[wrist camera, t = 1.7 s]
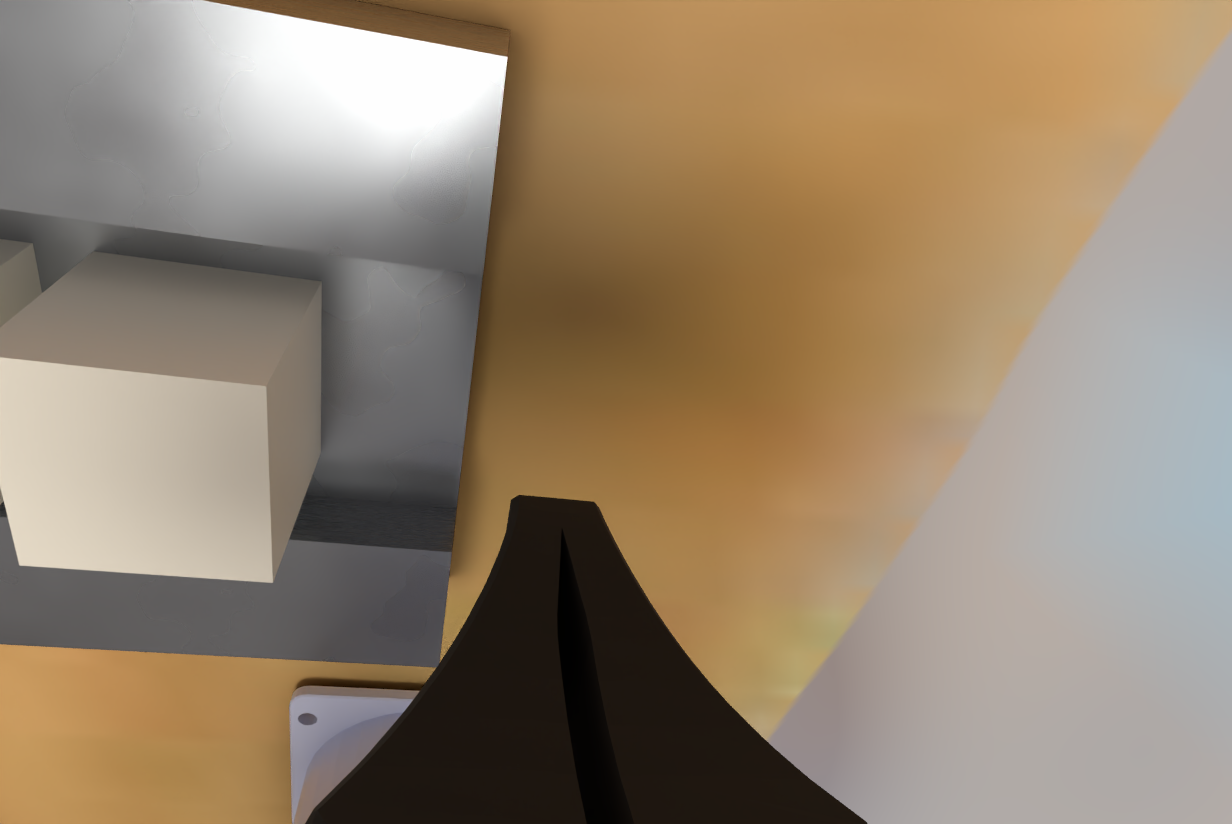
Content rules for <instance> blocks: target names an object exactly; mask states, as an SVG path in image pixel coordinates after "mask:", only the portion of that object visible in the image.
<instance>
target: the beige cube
mask: <svg viewBox="0 0 1232 824" xmlns="http://www.w3.org/2000/svg"><path fill="white" fill-rule="evenodd" d="M41 294H42V291H41V285H40V280H39V274H38V269H37V263H36V258H35V252H34V247H33V243H27V242H19V241H12V240H4V239H0V327H2V326H3V325H4V324H5V323H6V322H8V321H9V320H10V319H11V318H12V317H14V316H15V315H16V314H17V313H19V312H20V311H21V310H22V309H23V308H25V307H26V306H27V305H28V304H30V303H31V302H32V301H33V300H34V299H36V298H37V297H38V296H39V295H41ZM3 501H4V500H3V496H2V492H1V488H0V504H1V503H2V502H3Z"/></svg>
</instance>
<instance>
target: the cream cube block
mask: <svg viewBox="0 0 1232 824" xmlns="http://www.w3.org/2000/svg"><path fill="white" fill-rule="evenodd" d="M321 317H322V281H314V280H307V279H299V278H292V277H284V276H277V275H269V274H261V273H254V272H246V271H239V270H231V269H224V268H216V267H208V266H201V265H193V264H186V263H178V262H171V261H163V260H155V259H148V258H140V257H133V256H125V255H118V254H110V253H102V252H95V251H93V252H92V253H91V254H89V255H88V256H87V257H86V258H85V259H83V260H82V261H81V262H80V263H78V264H77V265H76V266H75V267H74V268H72V269H71V270H70V271H69V272H67V273H66V274H65V275H64V276H63V277H61V278H60V279H59V280H58V281H56V282H55V283H54V284H53V285H52V286H50V287H49V288H48V289H47V290H45V291H44V292H43V293H42V294H41V295H39V296H38V297H37V298H36V299H34V300H33V301H32V302H31V303H30V304H28V305H27V306H26V307H25V308H23V309H22V310H21V311H20V312H19V313H17V314H16V315H15V316H14V317H12V318H11V319H10V320H9V321H8V322H6V323H5V324H4V325H3V326H2V327H0V488H1V492H2V496H3V500H4V504H5V508H6V512H7V516H8V521H9V525H10V529H11V533H12V537H13V541H14V545H15V550H16V554H17V558H18V562H19V565H20V566H34V567H49V568H63V569H78V570H92V571H107V572H121V573H136V574H151V575H165V576H180V577H194V578H209V579H223V580H238V581H252V582H267V583H273V581H274V579H275V576H276V573H277V570H278V568H279V565H280V562H281V560H282V557H283V554H284V551H285V549H286V546H287V543H288V540H289V538H290V535H291V532H292V530H293V527H294V524H295V521H296V519H297V516H298V513H299V510H300V508H301V505H302V502H303V500H304V497H305V494H306V491H307V489H308V486H309V483H310V481H311V478H312V475H313V472H314V470H315V467H316V464H317V461H318V459H319V456H320V453H321Z"/></svg>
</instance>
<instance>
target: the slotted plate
mask: <svg viewBox="0 0 1232 824" xmlns="http://www.w3.org/2000/svg"><path fill="white" fill-rule="evenodd" d="M509 38H510V30H506V29H500V28H495V27H490V26H485V25H479V24H474V23H469V22H464V21H459V20H453V19H448V18H443V17H438V16H433V15H427V14H422V13H417V12H412V11H406V10H401V9H396V8H391V7H386V6H380V5H375V4H370V3H365V2H360V1H354V0H0V239H4V240H12V241H19V242H27V243H33V247H34V252H35V258H36V263H37V269H38V274H39V280H40V285H41V291H42V293H43V292H44V291H45V290H47V289H48V288H49V287H50V286H52V285H53V284H54V283H55V282H56V281H58V280H59V279H60V278H61V277H63V276H64V275H65V274H66V273H67V272H69V271H70V270H71V269H72V268H74V267H75V266H76V265H77V264H78V263H80V262H81V261H82V260H83V259H85V258H86V257H87V256H88V255H89V254H91V253H92V252H93V251H95V252H102V253H110V254H118V255H125V256H133V257H140V258H148V259H155V260H163V261H171V262H178V263H186V264H193V265H201V266H208V267H216V268H224V269H231V270H239V271H246V272H254V273H261V274H269V275H277V276H284V277H292V278H299V279H307V280H314V281H322V317H321V453H320V456H319V459H318V461H317V464H316V467H315V470H314V472H313V475H312V478H311V481H310V483H309V486H308V489H307V491H306V494H305V497H304V500H303V502H302V505H301V508H300V510H299V513H298V516H297V519H296V521H295V524H294V527H293V530H292V532H291V535H290V538H289V540H288V543H287V546H286V549H285V551H284V554H283V557H282V560H281V562H280V565H279V568H278V570H277V573H276V576H275V579H274V581H273V583H267V582H252V581H238V580H223V579H209V578H194V577H180V576H165V575H151V574H136V573H121V572H107V571H92V570H78V569H63V568H49V567H34V566H20V565H19V562H18V558H17V554H16V550H15V545H14V541H13V537H12V533H11V529H10V525H9V521H8V516H7V512H6V508H5V504H4V501H3V502H2V503H1V504H0V644H7V645H26V646H45V647H64V648H82V649H101V650H120V651H139V652H157V653H176V654H195V655H214V656H233V657H251V658H270V659H289V660H308V661H327V662H345V663H364V664H383V665H402V666H421V667H437V666H438V665H439V662H440V653H441V644H442V635H443V626H444V617H445V608H446V599H447V591H448V582H449V573H450V564H451V555H452V546H453V537H454V528H455V519H456V510H457V501H458V492H459V483H460V474H461V465H462V456H463V448H464V439H465V430H466V421H467V412H468V403H469V394H470V385H471V376H472V368H473V359H474V350H475V341H476V332H477V323H478V314H479V305H480V296H481V287H482V279H483V271H484V262H485V253H486V244H487V235H488V226H489V217H490V208H491V200H492V191H493V182H494V173H495V164H496V155H497V146H498V137H499V128H500V120H501V111H502V102H503V93H504V84H505V75H506V66H507V57H508V48H509Z"/></svg>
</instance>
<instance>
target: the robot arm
mask: <svg viewBox="0 0 1232 824" xmlns="http://www.w3.org/2000/svg"><path fill="white" fill-rule="evenodd" d="M289 713H290V757H291V802H292V824H867V822H866V821H864V820H863V819H862V818H861V817H859V816H858V815H856V814H855V813H854V812H853V811H851V810H850V809H848V808H847V807H846V806H845V805H843V804H842V803H841V802H839V801H838V800H837V799H835V798H834V797H833V796H832V795H830V794H829V793H827V792H826V791H825V790H824V789H822V788H821V787H820V786H818V785H817V784H816V783H814V782H813V781H812V780H810V779H809V778H808V777H807V776H806V775H804V774H803V773H802V772H801V771H800V770H799V769H797V768H796V767H795V766H794V765H793V764H792V763H791V762H789V761H788V760H787V759H786V758H785V757H783V756H782V755H781V754H780V753H779V752H778V751H777V750H775V749H774V748H773V747H772V746H771V745H770V744H769V743H768V742H767V741H766V740H765V739H764V738H763V737H761V736H760V735H759V734H758V733H757V732H756V731H755V730H754V729H753V728H752V727H751V726H750V725H749V724H748V723H747V722H746V721H745V720H744V719H743V718H742V717H741V716H740V715H739V714H738V713H737V712H736V711H735V710H734V709H733V708H732V707H731V706H730V705H729V704H728V703H727V701H726V700H725V699H724V698H723V697H722V696H721V695H720V694H719V692H718V691H717V690H716V689H715V688H714V687H713V686H712V685H711V684H710V682H709V681H708V680H707V679H706V678H705V676H704V675H703V674H702V673H701V671H700V670H699V669H698V668H697V667H696V665H695V664H694V663H693V662H692V661H691V659H690V658H689V657H688V655H687V654H686V653H685V651H684V650H683V649H682V647H681V646H680V645H679V643H678V642H677V641H676V639H675V638H674V637H673V635H672V634H671V632H670V631H669V629H668V628H667V627H666V625H665V624H664V622H663V621H662V619H661V618H660V617H659V615H658V614H657V612H656V610H655V609H654V607H653V606H652V604H651V603H650V601H649V600H648V598H647V596H646V595H645V593H644V591H643V590H642V588H641V586H640V585H639V583H638V581H637V580H636V578H635V577H634V575H633V573H632V572H631V570H630V568H629V566H628V564H627V563H626V561H625V559H624V557H623V555H622V553H621V552H620V550H619V548H618V546H617V544H616V542H615V540H614V538H613V536H612V534H611V532H610V530H609V528H608V526H607V524H606V522H605V520H604V518H603V515H602V513H601V511H600V509H599V507H598V506H597V505H596V504H595V502H590V501H579V500H569V499H558V498H547V497H536V496H525V495H518V496H517V497H515V498H514V499H512V500H511V504H510V510H509V517H508V523H507V530H506V534H505V537H504V540H503V543H502V546H501V549H500V551H499V554H498V556H497V558H496V561H495V563H494V565H493V568H492V570H491V573H490V575H489V577H488V580H487V582H486V584H485V586H484V588H483V590H482V592H481V594H480V596H479V597H478V599H477V601H476V603H475V605H474V607H473V609H472V611H471V613H470V615H469V616H468V618H467V620H466V622H465V624H464V625H463V627H462V629H461V630H460V632H459V634H458V635H457V637H456V639H455V640H454V642H453V644H452V645H451V647H450V648H449V650H448V651H447V653H446V654H445V656H444V657H443V659H442V660H441V662H440V664H439V665H438V666H437V668H436V669H435V671H434V672H433V673H432V675H431V676H430V678H429V679H428V680H427V682H426V683H425V685H424V686H423V687H422V689H421V690H420V691H415V690H394V689H373V688H352V687H332V686H311V685H310V686H303V687H300V688H297V689H296V690H295V691H294V692H293V695H292V698H291V701H290V705H289Z"/></svg>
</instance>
